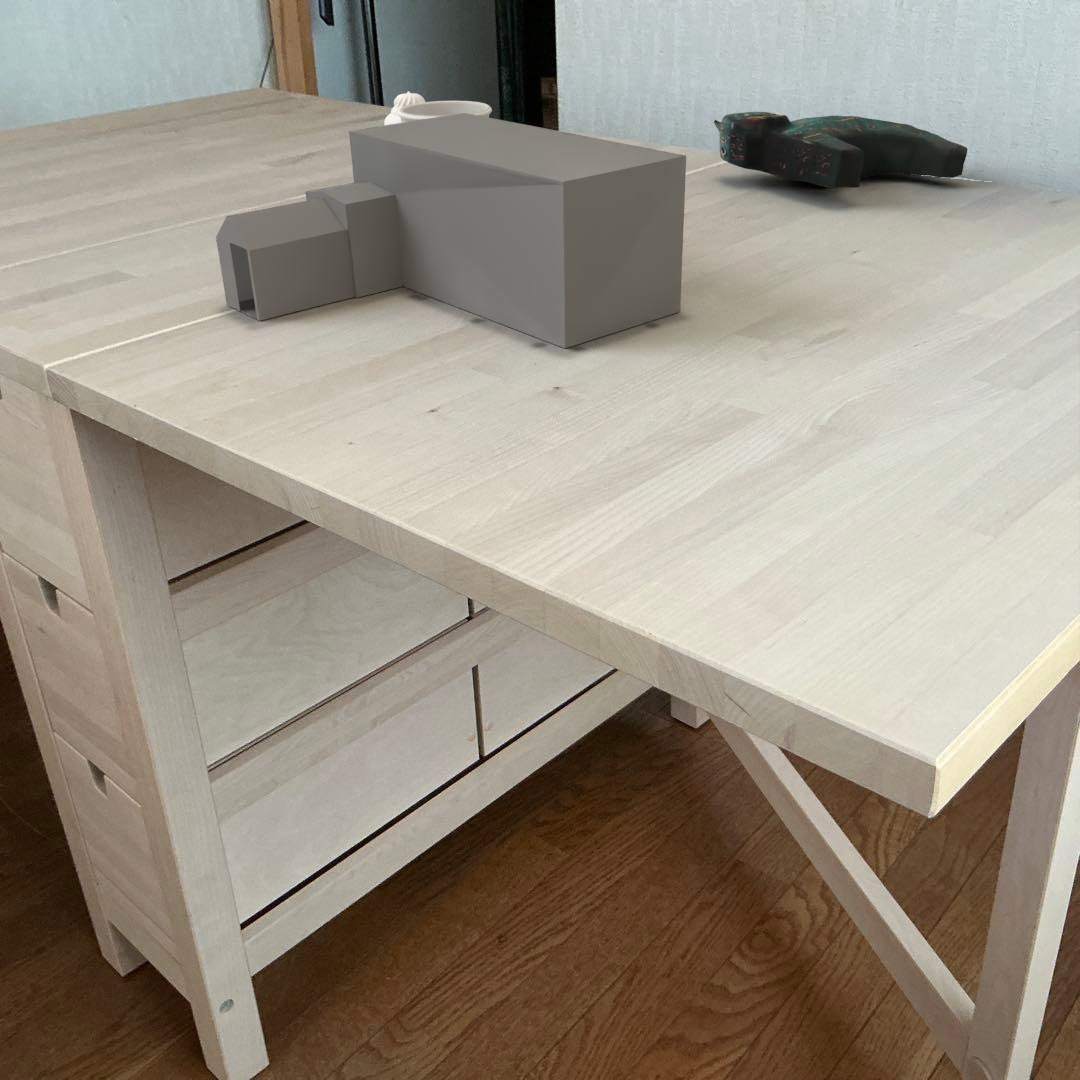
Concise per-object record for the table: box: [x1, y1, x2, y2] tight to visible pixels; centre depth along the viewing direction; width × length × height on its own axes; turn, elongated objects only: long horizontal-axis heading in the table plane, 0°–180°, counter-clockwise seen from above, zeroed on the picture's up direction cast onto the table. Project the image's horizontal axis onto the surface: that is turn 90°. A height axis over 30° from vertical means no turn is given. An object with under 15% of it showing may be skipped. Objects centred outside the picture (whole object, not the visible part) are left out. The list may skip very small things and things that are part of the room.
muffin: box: [383, 90, 426, 126], centre depth 133 cm, size 6×6×7 cm
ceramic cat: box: [713, 111, 968, 189], centre depth 117 cm, size 20×6×20 cm
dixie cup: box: [398, 100, 493, 123], centre depth 105 cm, size 8×8×10 cm
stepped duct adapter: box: [215, 113, 687, 349], centre depth 83 cm, size 25×23×11 cm
